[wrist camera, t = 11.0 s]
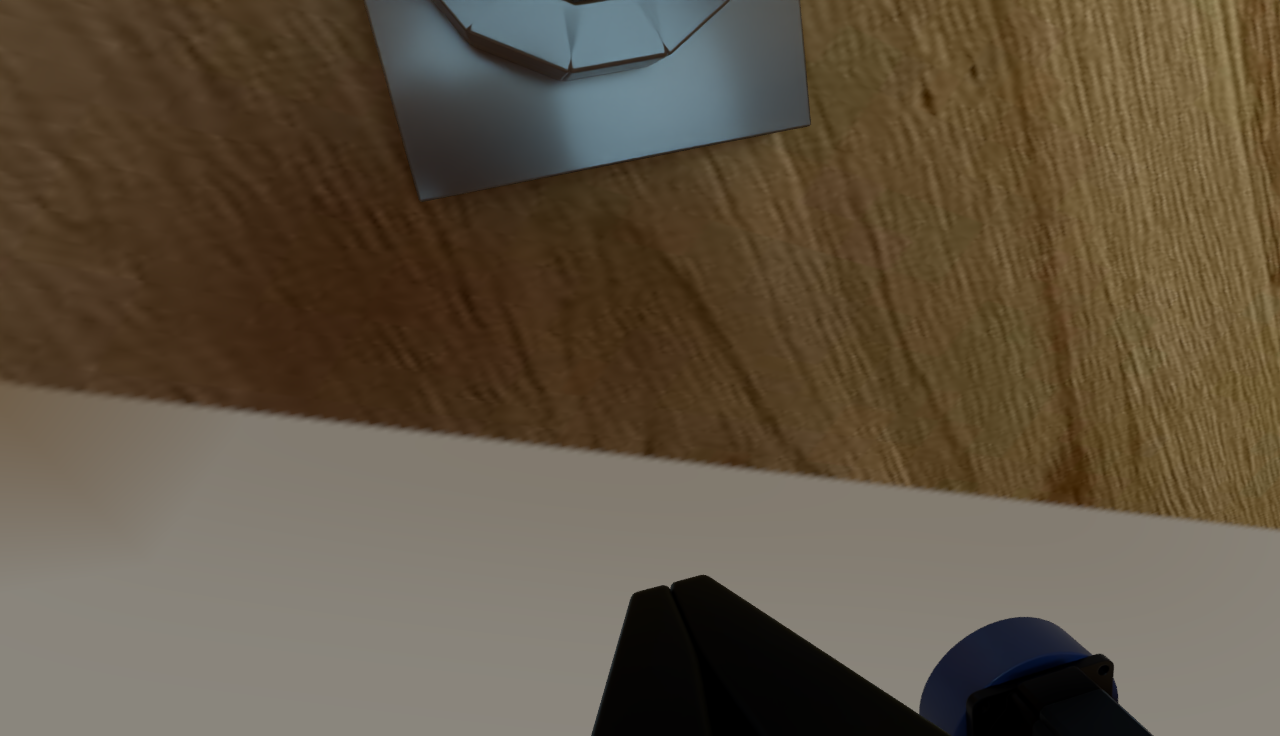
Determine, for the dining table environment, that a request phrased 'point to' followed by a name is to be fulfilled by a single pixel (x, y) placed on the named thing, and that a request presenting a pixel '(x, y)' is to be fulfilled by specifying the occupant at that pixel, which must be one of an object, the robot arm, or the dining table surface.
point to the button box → (581, 82)
